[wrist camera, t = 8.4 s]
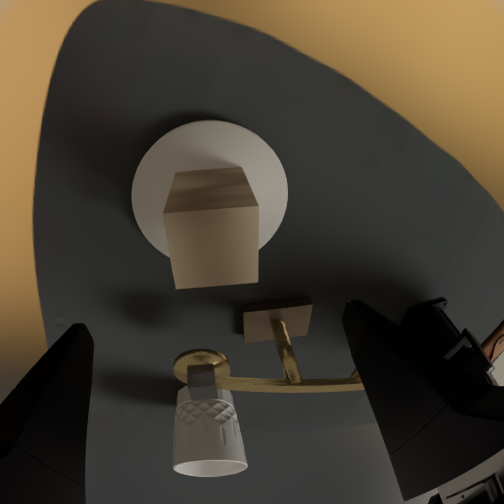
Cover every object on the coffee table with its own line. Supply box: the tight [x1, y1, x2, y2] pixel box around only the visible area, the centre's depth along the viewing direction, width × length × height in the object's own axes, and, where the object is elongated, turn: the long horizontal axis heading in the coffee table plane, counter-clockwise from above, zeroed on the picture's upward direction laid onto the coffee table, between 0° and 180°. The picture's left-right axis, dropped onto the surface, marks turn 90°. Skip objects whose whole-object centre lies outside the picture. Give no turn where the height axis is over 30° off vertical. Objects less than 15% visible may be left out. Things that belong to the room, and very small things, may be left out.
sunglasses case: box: [481, 321, 504, 362], centre depth 41 cm, size 18×7×7 cm
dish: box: [132, 120, 288, 257], centre depth 18 cm, size 10×10×1 cm
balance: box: [174, 297, 365, 400], centre depth 22 cm, size 18×4×9 cm, turn 90°
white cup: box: [173, 386, 248, 477], centre depth 28 cm, size 8×8×10 cm
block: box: [163, 167, 259, 289], centre depth 15 cm, size 4×4×6 cm
